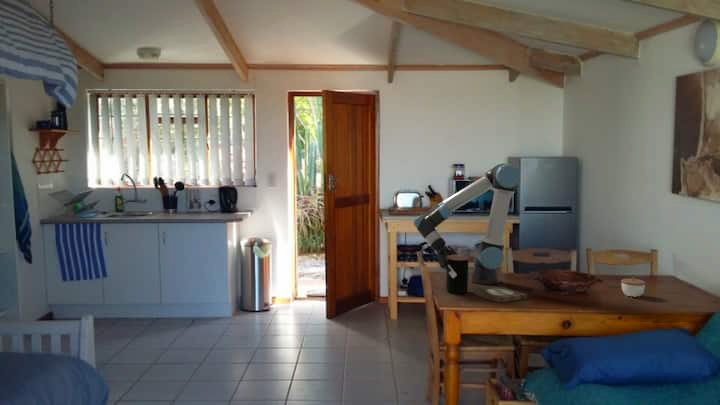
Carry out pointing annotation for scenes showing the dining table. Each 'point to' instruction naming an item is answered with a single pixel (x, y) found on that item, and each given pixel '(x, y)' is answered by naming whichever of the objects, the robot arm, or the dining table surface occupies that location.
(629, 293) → the lidded jar
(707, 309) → the dining table surface
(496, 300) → the walnut board
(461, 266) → the coffee jar
